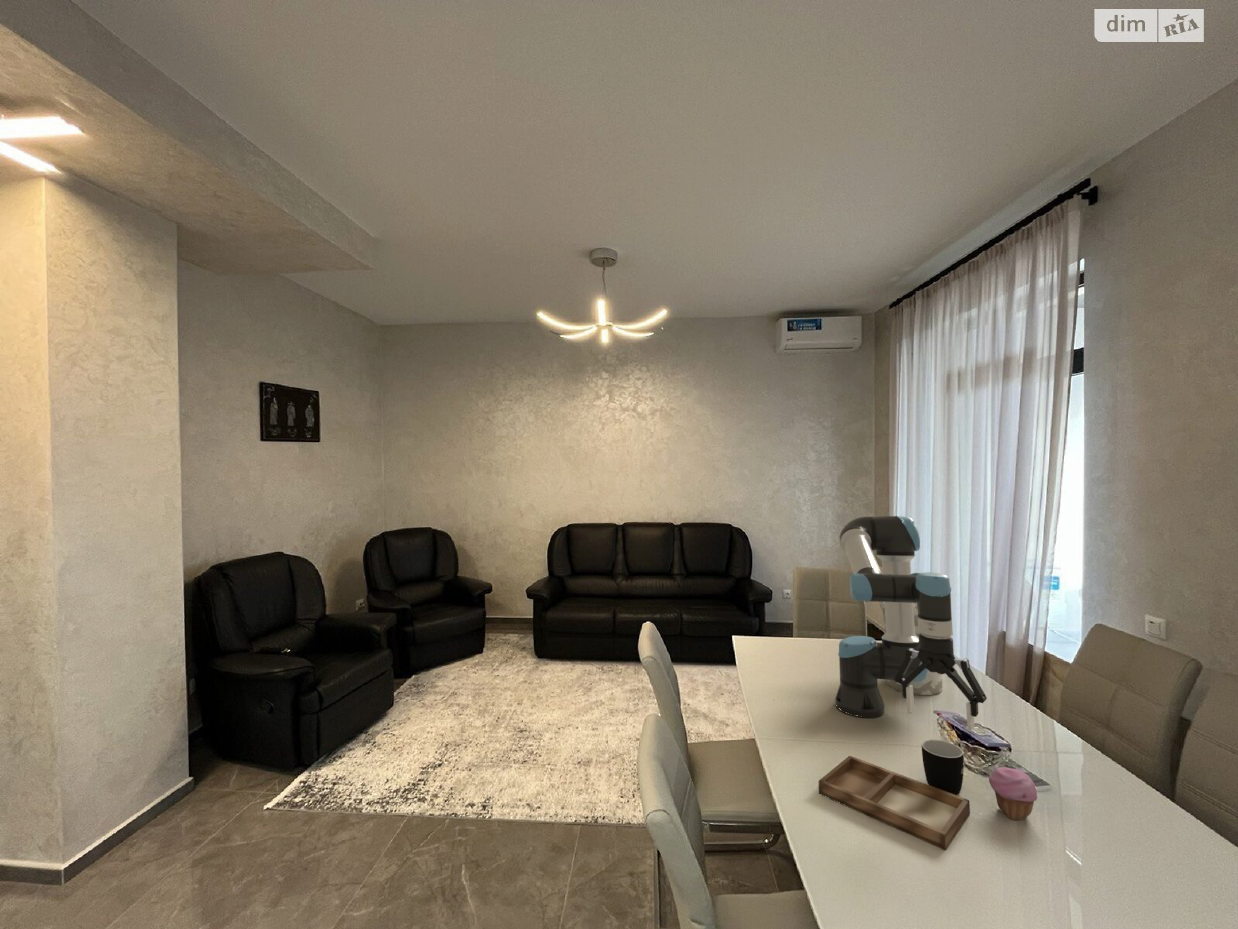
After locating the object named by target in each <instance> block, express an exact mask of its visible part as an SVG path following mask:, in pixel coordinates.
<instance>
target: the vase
mask: <svg viewBox="0 0 1238 929" xmlns="http://www.w3.org/2000/svg"><path fill="white" fill-rule="evenodd" d="M878 604H879V606H880V609H881V611H882V616H883V619H882V620H883V623H884V624H883V625H884V634H885V633H886V619H885V603H884V602H878ZM913 610H914V624H915V635H916V636H917V637H918V638H919V635H920V634H921V633H920V632H919V630H918V609H917V603H913ZM885 682H886V684H887V685H888V684H889V685H890V686H891V687H890V686H889V685H888V686H889V687H890V688H892V689H893V688H895V689H894V690H896V689H897V690H896V691H898V690H899V692H901V691H902V693H903V689H902V685H901V684H900V683H898V682H895V680H885ZM909 685H913V695H915V696H933V695H938V694H940V693H941V692H942V691H943V690H944V689H943V674H939V673H937V672H929V670H928V672H927V676H926V678H925V679H924V680H923V681H921V682H913V681H912V682H911V683H910V684H909Z"/></svg>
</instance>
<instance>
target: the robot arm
mask: <svg viewBox="0 0 1238 929" xmlns="http://www.w3.org/2000/svg"><path fill="white" fill-rule="evenodd" d="M920 539H921V538H920V534H919V531H918V527H917V525H916V523H915V521H914V520H913V518H911V517H910V516H904V515H902V516H901V515H900V516H899V515H893V516H890V515H888V516H885V515H884V516H883V515H882V516H881V515H880V516H877V515H876V516H860V517H856V518H854V519H852V520H851V521H849V522H848V523H846V524H845V525H844V527H843V528H842V529H841V531H840V535H839V544H840V547H841V549H842V550H843V552H845V553H846V554H847V559H848V561H849V565H850V567H851V568H850V569H851V571H852V574H850V576H849V580H848V581H849V582H848V585H849V593H850V597H851V599H852V600H854V601H857V602H858V601H860V602H866V603H867V602H868V603H869V602H876V603H877V602H878V603H879V602H884V603H885V619H886V633H885V632H884V634H883V635H882V636H881V642H877V641H876V639H875V638H873V637H871V636H866V635H853V636H849V637H845V638H842V639H841V640H840V641H839V643H838V652H837V655H838V659H839V662H838V663H839V686H838V688H837V692H836V696H835V699H834V700H835V703H834V704H835V706H836V705H837V707H838V708H840V709H841V710H842V711H844V712H847V713H849V714H852V715H858V716H862V717H861V718H863V717H869V718H870V717H873V718H878V716H879V717H881V716H883V715H884V714H885V712H886V711H885V704H884V700H883V697H882V696H881V692H880V690H879V687H878V685H879V684H878V680H885V681H886V680H895V682H898V683H900V684H901V685H902V689H903V692H902V698H903V699H906V712H907V714H912V713H913V712H915V699H914V697H915V696H914V695H915V694H913V685H909V684H910V683H911V682H912V681H913V682H921V681H923V680H924V679H925V678H926V676H927V672H928V670H929V672H937V673H939V674H942V675H946V676H947V677H948V678H949V679H950V680H951V681H952V682H953V683H954V684H955V685H956V687H957V688H958V689H959V691H961V693H962V694H963V696H964V697H965V698H966V699H967V701H966V702H965V705H966V708H965V709H966V723H967V728H966V729H967V731H972V730H973V729H974V728H975V718H976V717H977V716H978V715H979V704H980V703H981V704H984V703H985V702H986V701H987V698H988V697H987V696H986V693H985V692H984V690H983V689H982V687H981V684H980V683H979V681H978V679H977V677H976V676H975V674H974V672H973V671H972V669H971V664H970V660H969V659H968V658H963V659H962V658H961V659H960V658H956V657H955V655H954V651H955V650H954V638H953V637H952V636H954V634H953V633H954V632H953V631H954V630H953V619H952V618H953V616H952V597H951V596H952V595H951V592H952V587H951V583H950V577H949V576H948V575H946V574H944V573H941V572H914V573H912V569H911V561H912V560H913V559H914V558H915V555H916V554H915V552H917V551H919V550H920V548H921V540H920ZM874 551H875V554H876V556H875V554H874ZM876 557H877V558H878V559H879V560H881V568H882V569H881V568H880V565H879V563H878V561H877V558H876ZM913 603H917V609H918V630H919V632H920V633H921V634H920V635H919V638H918V637H917V636H916V635H915V624H914V610H913ZM955 665H957V666H958V668H959V669H960V670H961V671H962V674H963V676H964V678H965V679H966V681H964V679H963V678H962V676H961V675H959V673H958V671H957V669H956V668H955V667H954V666H955ZM966 682H967V683H966ZM837 707H836V708H837ZM838 708H837V709H838ZM842 711H841V712H842ZM844 712H843V713H844ZM849 714H848V715H849ZM852 715H851V716H852ZM869 718H868V719H869Z"/></svg>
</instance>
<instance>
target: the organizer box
mask: <svg viewBox="0 0 1238 929" xmlns="http://www.w3.org/2000/svg"><path fill="white" fill-rule="evenodd" d="M818 794H819V795H820V794H822V795H821V796H823V795H824V796H823V797H825V796H826V797H825V798H827V797H829V798H830V800H832V801H834V800H835V802H836V801H838V802H840V803H839V804H841V803H842V804H841V805H843V804H845V805H846V806H845V805H844V806H845V807H847V806H848V808H850V809H852V810H854V811H856V812H859V813H861V814H863V815H865V816H868V817H870V818H873V819H874V820H876V821H879V822H881V823H883V824H885V825H888V826H890V827H892V828H895V829H897V830H900V831H901V832H903V833H906V834H907V835H910V836H913V837H915V838H917V839H919V840H922V841H924V842H926V843H928V844H930V845H932V846H935V847H938V848H939V849H941V850H944V851H946V850H947V849H948V848H949V847H950V845H951V843H952V841H953V840H954V839H955V838H956V836H957V835H958V833H959V831H960V830H961V828H962V827H963V826H964V824H965V823H966V821H967V820H968V818H969V817H970V814H971V808H970V804H971V803H970V800H969V799H967V798H964V797H961V796H959V795H954V794H951V793H949V792H946V791H943V790H941V789H938V788H935V787H933V786H930V785H928V783H924V782H922V781H918V780H916V779H913V778H911V777H908V776H906V775H903V774H899V773H897V772H894V771H891V770H890V769H887V768H883V767H881V766H878V765H876V764H873V763H870V762H867V761H866V760H862V759H860V758H857V757H854V756H852V755H848V756H847V757H846V758H845V759H843V760H842V761H841V762H839V764H837V765H836V766H835V767H834V768H833V769H831V770H829V772H827V773H826V774H825V775H824V776H822V778H820V779H819V780H818ZM829 798H828V799H829ZM838 802H837V803H838Z"/></svg>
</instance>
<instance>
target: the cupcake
mask: <svg viewBox="0 0 1238 929" xmlns="http://www.w3.org/2000/svg"><path fill="white" fill-rule="evenodd" d="M988 781H989V784H990V788H992V789H993V791H994V795H995V798H996V804H997V806H998V808H999V810H1000V811H1001V812H1002V813H1004V814H1005V815H1006V816H1007V817H1008V818H1009V819H1010V820H1012V821H1013V820H1014V821H1018V820H1022V819H1026V818H1028V817H1029V816H1030V815H1031V813H1032V812H1033V807H1034V802H1035V801H1036V800H1038V793H1037V788H1036V785H1035V782H1034V781H1033V780H1032V778H1031V777H1030V776H1029V775H1028V773H1025V772H1024V771H1021V770H1019V769H1014V768H1011V767H1004V766H1001V767H997V768H995V769H994V770H993V771H992V772H990V774H989V777H988Z"/></svg>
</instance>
